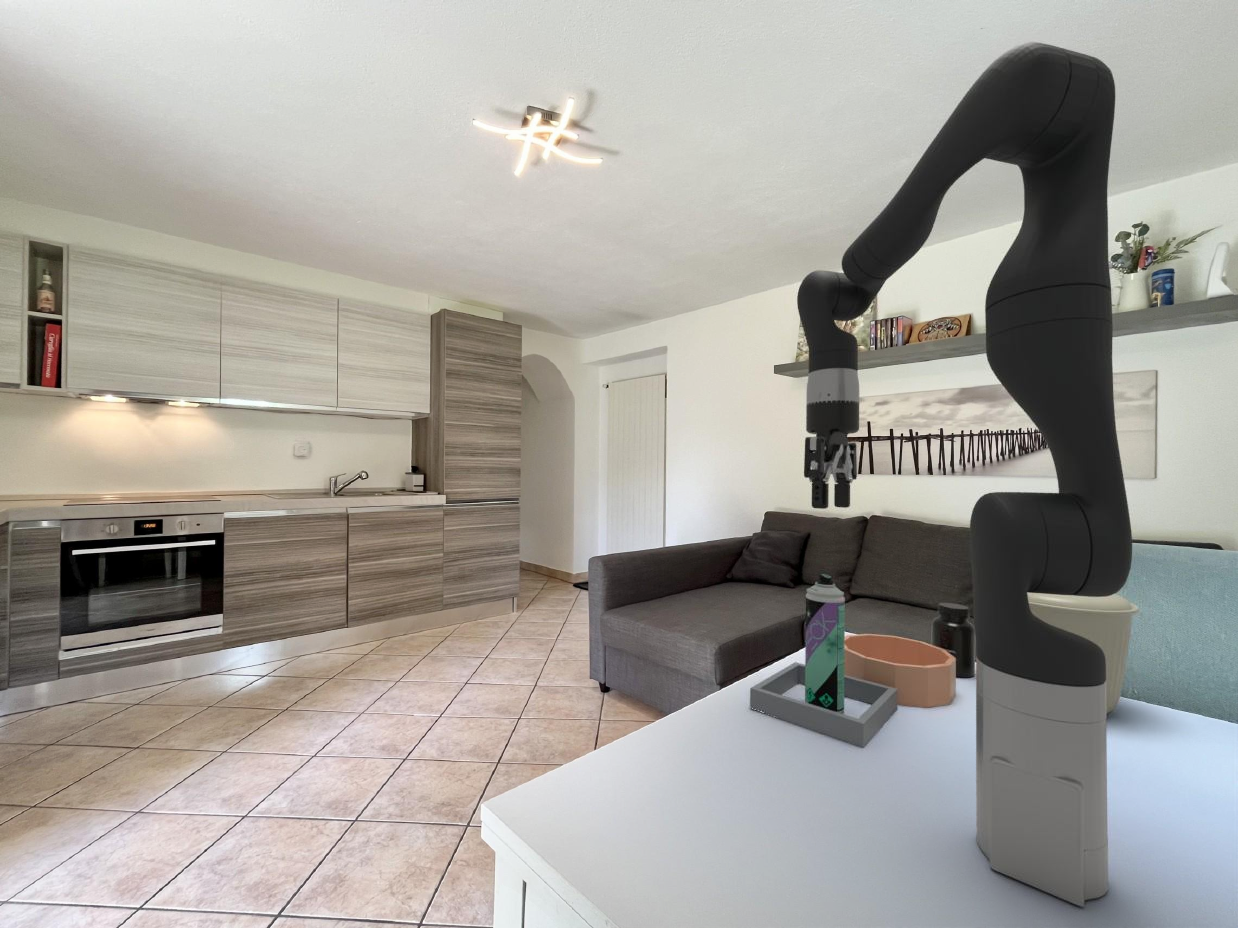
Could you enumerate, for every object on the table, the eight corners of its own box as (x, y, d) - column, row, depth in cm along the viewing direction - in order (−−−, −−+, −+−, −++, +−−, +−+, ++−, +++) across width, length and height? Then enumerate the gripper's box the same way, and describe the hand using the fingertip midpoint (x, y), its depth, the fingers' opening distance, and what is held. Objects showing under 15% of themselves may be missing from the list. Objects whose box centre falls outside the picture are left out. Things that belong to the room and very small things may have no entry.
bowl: (941, 717, 75) (941, 675, 76) (824, 684, 87) (824, 648, 87) (962, 684, 88) (962, 649, 88) (857, 660, 99) (858, 628, 100)
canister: (988, 671, 95) (987, 556, 95) (1124, 696, 84) (1122, 567, 85) (991, 705, 80) (991, 569, 80) (1157, 741, 70) (1154, 584, 70)
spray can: (812, 697, 81) (813, 570, 82) (848, 708, 78) (849, 574, 78) (799, 709, 77) (800, 574, 78) (837, 720, 74) (838, 579, 74)
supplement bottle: (937, 675, 92) (937, 608, 93) (926, 663, 99) (926, 599, 99) (981, 680, 90) (981, 611, 91) (967, 667, 97) (967, 603, 97)
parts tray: (863, 747, 66) (863, 723, 66) (750, 708, 77) (750, 688, 77) (897, 708, 78) (897, 688, 78) (795, 679, 89) (795, 661, 89)
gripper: (839, 393, 71) (838, 510, 71) (873, 405, 82) (873, 508, 81) (788, 398, 77) (786, 507, 76) (826, 409, 87) (825, 505, 86)
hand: (831, 507), depth 79 cm, fingers open, 8 cm apart
